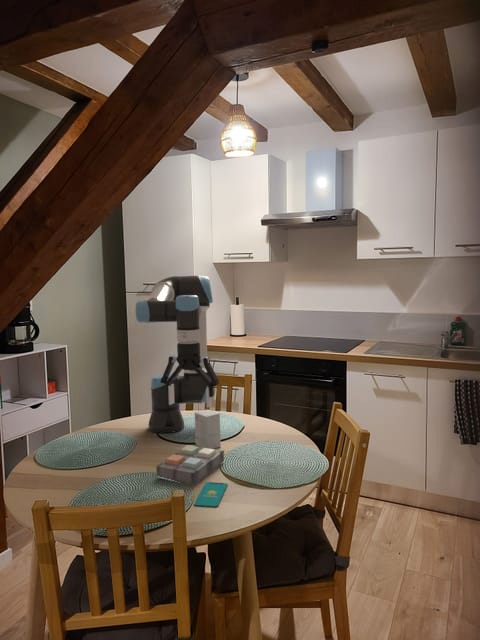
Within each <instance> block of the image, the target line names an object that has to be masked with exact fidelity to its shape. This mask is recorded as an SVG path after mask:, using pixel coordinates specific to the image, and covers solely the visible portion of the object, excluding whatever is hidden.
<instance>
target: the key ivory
mask: <svg viewBox="0 0 480 640" xmlns="http://www.w3.org/2000/svg"><path fill="white" fill-rule="evenodd" d="M215 450H216V448H214V449H209V448H203V449H202V450H200V451H199V452H198V457H203V458H208V459H210V458H211V457H213V456H214V455H215Z"/></svg>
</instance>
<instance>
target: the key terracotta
mask: <svg viewBox="0 0 480 640" xmlns="http://www.w3.org/2000/svg"><path fill="white" fill-rule="evenodd" d="M175 454H176V453H175ZM175 454H174V453H173V454H171V455H169V456H168V457H167V458H166V459H165V460H166V464H170V465H176V466H178V465H180V464H181V463H183V462H184V461H185V456H180V455H175Z"/></svg>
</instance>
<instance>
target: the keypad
mask: <svg viewBox="0 0 480 640" xmlns="http://www.w3.org/2000/svg"><path fill="white" fill-rule="evenodd" d="M198 447H199V446H198ZM202 449H203V448H202V447H199V451H200V450H202ZM224 452H225V451H224V450H220V449H215V455H214V456H213V457H211V458H210V459H208V458H203V457H198V452H197V453H196V454H195V455H193V456H191V455H185V454H181V450H180V451H177V452H176V453H175V455H180V456H185V460H187V459H188V458H190V457H192V458H198V459H202V465H201V466H199V467H198V468H196V469H192V468H187V467H183V463H181V464H180V465H178V466H176V465H170V464H166V459H165V460H164V461H162V462H161V463H159V464H157V465H156V477H157V476H160V477H164V478H167V479H171V480H174V481H177V482H180V483H179V484H181V483H182V485H186V486H193V487H195V486H196V485H198V484H199V483H200V482H202V481H203V480H204V479H205V478H206V477H208V476H209V475H210V474H211V473H213V472H215V470H217V469H218V468H219V467H220V466H222V465H221V463H222V462H223V461H224V462H225V458H224V457H225V455H224V454H225V453H224Z"/></svg>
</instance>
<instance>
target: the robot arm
mask: <svg viewBox="0 0 480 640" xmlns="http://www.w3.org/2000/svg"><path fill="white" fill-rule="evenodd" d="M210 281H211V280H210V278H209V277H208V276H206V275H183V276H182V275H180V276H179V275H177V276H176V275H175V276H173V275H172V276H169V277H165V278H163V279H161V280H159V281H157V282H156V283H155V284H154V285H153V286H152V287H151V291H150V295H149V297H148V299H147V300H140V301H139V300H138V301H137V302H136V303H135V319H136V321H137V322H139V323H146V324H147V323H176V342H178V343H177V344H176V347H177V348H176V349H177V350H176V351H177V352H176V353H177V356H175V355H171V356H169V357H168V362H167V365H166V366H165V369H164V371H163V373H160V374H157V375H154V376H153V377H152V378H151V384H150V390H151V413H150V417H149V420H148V431H150V432H152V433H156V434H167V433H166V432H172V433H174V432H173V431H176V432H178V431H177V430H179V431H181V430H180V429H182V428H183V427H184V428H185V421H184V417H183V415H182V412H181V408H180V404H181V405H182V404H184V405H185V404H205V403H206V408H207V409H209V408H210V407H212V406H213V403H212V401H213V397H214V396H215V387H217V386H219V384H220V380H219V378H218V376H217V375H216V372H215V371H214V369H213V368H214V367H213V366H212V364H211V360H210V356H208V340H207V333H208V332H207V311H208V310H209V308H210V305H211V304H213V301H214V300H213V293H212V287H211V282H210ZM175 363H178V365H177V367H176V368H175V370H173V367H174V365H175ZM172 370H173V371H172ZM182 371H183V375H180V373H181V372H182ZM184 428H183V429H184ZM183 429H182V430H183ZM158 432H160V433H158Z"/></svg>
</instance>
